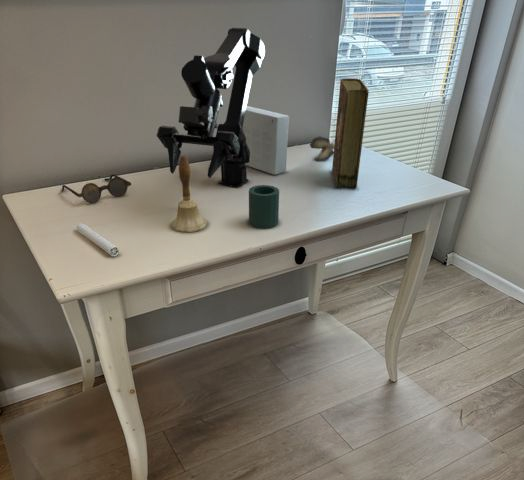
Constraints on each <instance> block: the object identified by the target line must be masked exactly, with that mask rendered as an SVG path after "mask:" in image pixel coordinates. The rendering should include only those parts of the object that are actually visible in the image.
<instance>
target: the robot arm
mask: <svg viewBox="0 0 524 480" xmlns="http://www.w3.org/2000/svg"><path fill="white" fill-rule="evenodd" d="M265 54H266V47H265V44H264V42H263V40H262V38H261V37H259V36H257V35H255V34H254V33H252V32H251V31H250V29H248V28H246V27H231V28H229V29H228V30H227V36H225V38H224V39H223V42H222V43H221V45H220V46H219V47H218V49H217V50H216V52H215V53H214V54H210V55H207V56H206V57H204V56H203V55H196V54H195V55H193V59H191V60H189V61H187V62H186V63H185V64H184V65H183V67H182V68H181V71H180V74H181V78H182V80H183V82H184V83H185V86H186V87H187V89H188V91H189V93H190V96H191V97H192V98H194V99H195V101H194V105H193V106H183V105H180V106H179V112H178V123H179V124H183V127H182V128H183V130H184V131H185V132H187V133H180V132H179V130H178V129H177V127H176V126H171V125H160V126H159V127H158V128H157V131H156V134H155V135H156V137H157V138H158V140H159V141H160V142H161V144H162V146H163V148H165V149H167V153H168V164H169V172H170V173H171V174H173V175H174V173H175V172H176V169H177V166H178V163H179V161H180V158H181V153H182V151H181V149H182V146H183V144H189V145H198V146H211V147H213V152H212V156H211V159H210V163H209V166H208V169H207V178H209V179H211V178H212V177H213V175H214V174H216V172H217V171H218V169H219V168H220V176H221V177H220V179H219V180H218V182H217V183H218V184H219V185H223V186H228V187H233V188H239V187H241V186H242V185H244V184H246V183H248V182H249V179H248V177H247V174H248V172H247V169H248V168H247V166H246V165H245V163H249V162H250V150H249V148H248V146H247V143H246V137H245V134H244V131H243V122H244V117H245V112H246V107H247V106H248V102H249V96H250V90H251V86H252V81H253V77H254V75H255V74H256V73H257V72H258V71H259V70H260V69H261V65H262V62H263V60H264V58H265ZM234 67H235V72H234V73H233V68H234ZM231 84H232V87H231V92H230V96H229V103H228V108H227V113H226V118H225V121H224V122H223V123H218V122H217V120H218V116H219V112H220V108H223V106H224V103H223V102H224V101H223V96H222V93H221V91H220V90H227V89H229V87H230V86H231ZM215 129H216V134H215V136H214V132H215Z"/></svg>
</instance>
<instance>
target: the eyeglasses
mask: <svg viewBox="0 0 524 480" xmlns="http://www.w3.org/2000/svg"><path fill="white" fill-rule="evenodd" d="M104 181H106V182H107V181H108V183H107V185H106V184H105V185H100V186H99V185H98V184H96V183H94V182H88V183H86V184H84V185H83V187H82V188H81V192H79V193H78V192H77V191H75V190H74V189H72V188H70V187H68V186H67V185H65V184H62V185H61V189H62V191H63V192H64V191H65V189H66V190H67V191H68V192H71V193H72V194H73V195H74V196H76V197H77V198H82V199H83V200H84V202H86V203H88V204H96V203H98V202H99V201H100V200H101V196H102V192H103V191H104V190H107V191H108V192H109V194H110V195H111V196H113V197H115V198H120V197H123V196H124V195H125V194H126V193H127V191H128V188H129V187H130V186H131V185H132V182H130V181H128V180H127V179H124V178H123V177H121V176H119V175H117V174H114V173H111V174H110V176H109V177H108V178H107V177H105V178H104Z"/></svg>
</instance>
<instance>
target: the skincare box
mask: <svg viewBox="0 0 524 480" xmlns="http://www.w3.org/2000/svg"><path fill="white" fill-rule="evenodd" d="M289 122H290V115H287V114H283V113H280V112H274V111H270V110H267V109H262V108H258V107H253V106H249V105H247V107H246V112H245V117H244V122H243V131H244V134H245V137H246V143H247V146H248V148H249V150H250V162H249V163H245V166H246V167H249V168H253V169H256V170H259V171H262V172H265V173H268V174H270V175H274V176H276V175H279V174H283V173H286V172H287V160H288V159H287V158H288V140H289V124H290V123H289Z"/></svg>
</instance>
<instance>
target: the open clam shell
mask: <svg viewBox="0 0 524 480" xmlns="http://www.w3.org/2000/svg"><path fill="white" fill-rule="evenodd" d="M334 144H335V139H333V140H332V141H330V139H329V137H323V136H316V137H314V138H313V139H311V141H310V143H309V147H310V148H311V149H316V150H320V149H321V150H320V151H319V152H318V155H317V156H316V157H314V160H315V161H316V162H325V161H327V160H329V159H330V157H332V155H334Z"/></svg>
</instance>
